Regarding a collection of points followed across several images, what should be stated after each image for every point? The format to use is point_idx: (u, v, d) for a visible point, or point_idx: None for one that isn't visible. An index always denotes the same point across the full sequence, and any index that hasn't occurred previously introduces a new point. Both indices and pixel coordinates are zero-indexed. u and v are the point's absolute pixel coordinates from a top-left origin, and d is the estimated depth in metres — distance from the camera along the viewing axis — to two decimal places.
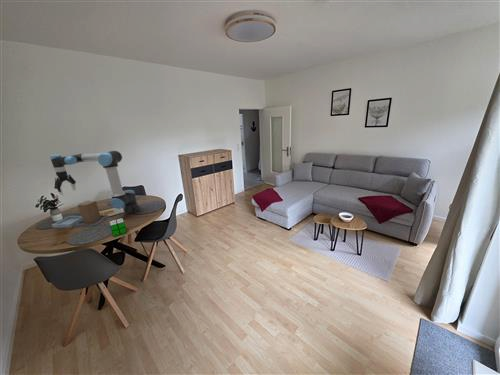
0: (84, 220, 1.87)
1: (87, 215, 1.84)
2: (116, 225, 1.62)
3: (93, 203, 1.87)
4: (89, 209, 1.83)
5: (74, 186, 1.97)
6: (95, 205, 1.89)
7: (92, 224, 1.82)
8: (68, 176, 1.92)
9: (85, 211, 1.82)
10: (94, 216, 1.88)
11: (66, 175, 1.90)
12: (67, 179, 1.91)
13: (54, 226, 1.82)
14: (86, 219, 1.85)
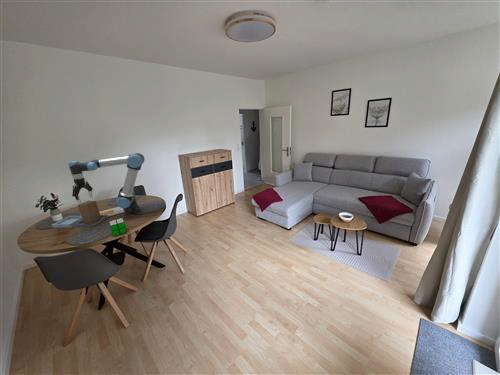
0: (84, 220, 1.87)
1: (87, 215, 1.84)
2: (116, 225, 1.62)
3: (93, 203, 1.87)
4: (89, 209, 1.83)
5: (91, 193, 1.90)
6: (95, 205, 1.89)
7: (92, 224, 1.82)
8: (85, 183, 1.85)
9: (85, 211, 1.82)
10: (94, 216, 1.88)
11: (83, 182, 1.82)
12: None
13: (54, 226, 1.82)
14: (86, 219, 1.85)
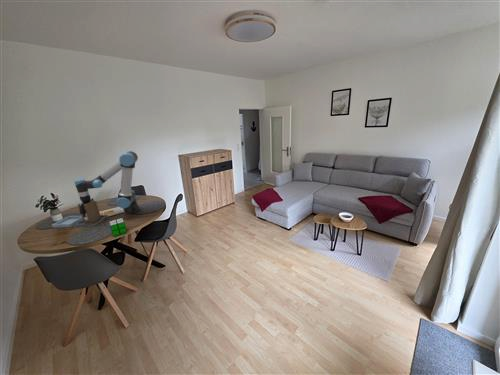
0: (84, 220, 1.87)
1: (87, 215, 1.84)
2: (116, 225, 1.62)
3: (93, 203, 1.87)
4: (89, 209, 1.83)
5: None
6: (95, 205, 1.89)
7: (92, 224, 1.82)
8: (91, 200, 1.90)
9: None
10: (94, 216, 1.88)
11: (89, 199, 1.88)
12: None
13: (54, 226, 1.82)
14: None
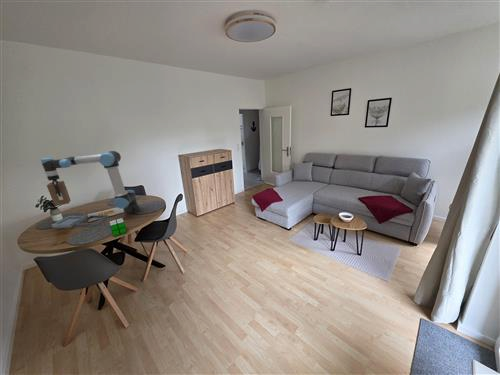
0: (55, 202, 1.78)
1: (62, 194, 1.79)
2: (116, 225, 1.62)
3: (63, 182, 1.83)
4: (64, 188, 1.80)
5: None
6: (64, 185, 1.85)
7: (92, 224, 1.82)
8: (55, 181, 1.82)
9: (60, 190, 1.78)
10: (67, 196, 1.85)
11: (56, 179, 1.81)
12: None
13: (54, 226, 1.82)
14: None
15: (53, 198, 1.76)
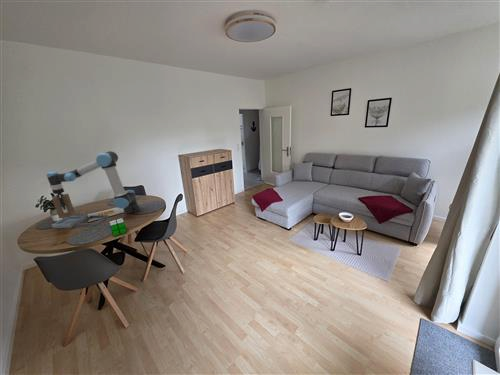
0: (60, 214, 1.82)
1: (66, 207, 1.83)
2: (116, 225, 1.62)
3: (68, 195, 1.87)
4: (68, 201, 1.84)
5: None
6: (69, 197, 1.89)
7: (92, 224, 1.82)
8: (60, 194, 1.86)
9: None
10: (71, 208, 1.89)
11: (60, 192, 1.84)
12: None
13: (54, 226, 1.82)
14: None
15: (58, 211, 1.80)
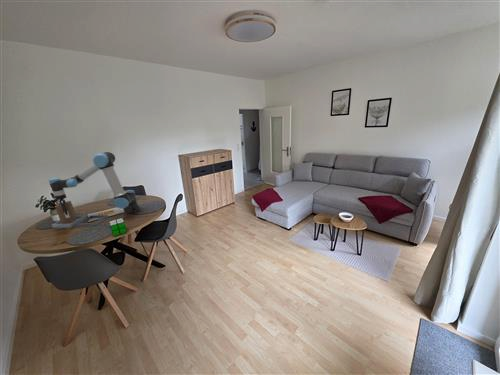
0: (63, 222, 1.84)
1: (69, 214, 1.85)
2: (116, 225, 1.62)
3: (70, 202, 1.89)
4: (71, 208, 1.86)
5: None
6: (71, 205, 1.91)
7: (92, 224, 1.82)
8: (62, 199, 1.88)
9: (67, 210, 1.84)
10: (74, 215, 1.91)
11: (63, 198, 1.86)
12: None
13: (54, 226, 1.82)
14: (67, 219, 1.85)
15: (61, 218, 1.83)
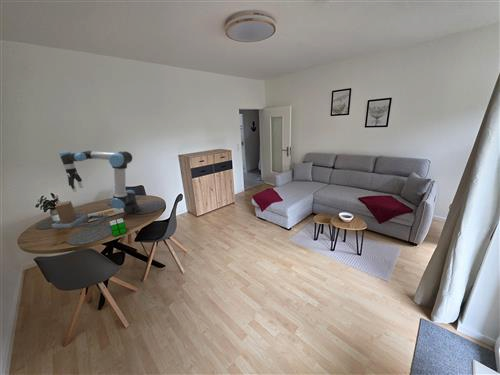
0: (63, 222, 1.84)
1: (69, 214, 1.85)
2: (116, 225, 1.62)
3: (70, 202, 1.89)
4: (71, 208, 1.86)
5: (81, 183, 1.96)
6: (71, 205, 1.91)
7: (92, 224, 1.82)
8: None
9: (67, 210, 1.84)
10: (74, 215, 1.91)
11: (75, 172, 1.89)
12: None
13: (54, 226, 1.82)
14: (67, 219, 1.85)
15: (61, 218, 1.83)
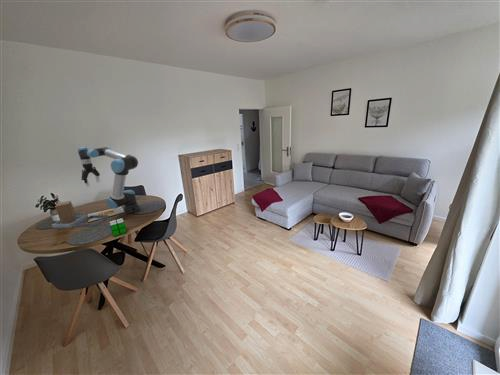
0: (63, 222, 1.84)
1: (69, 214, 1.85)
2: (116, 225, 1.62)
3: (70, 202, 1.89)
4: (71, 208, 1.86)
5: (98, 178, 2.04)
6: (71, 205, 1.91)
7: (92, 224, 1.82)
8: (93, 168, 1.99)
9: (67, 210, 1.84)
10: (74, 215, 1.91)
11: (91, 167, 1.96)
12: (92, 171, 1.98)
13: (54, 226, 1.82)
14: (67, 219, 1.85)
15: (61, 218, 1.83)
